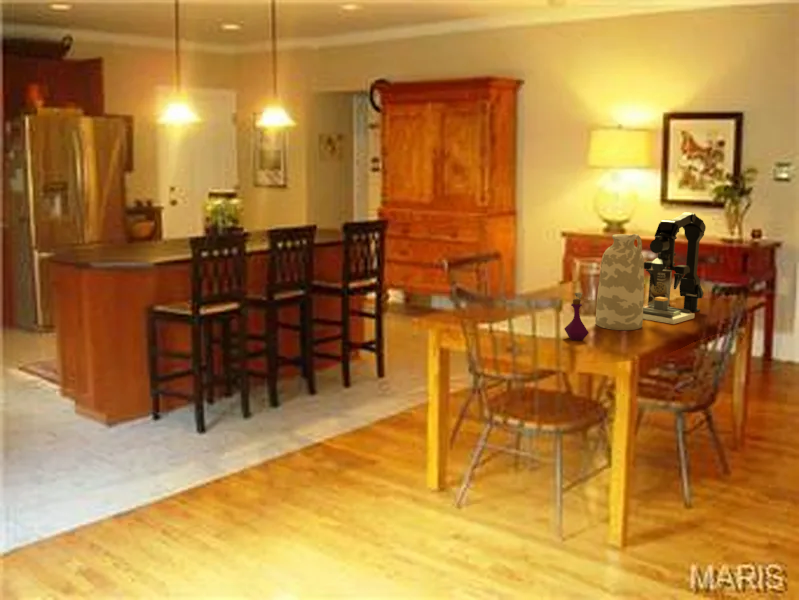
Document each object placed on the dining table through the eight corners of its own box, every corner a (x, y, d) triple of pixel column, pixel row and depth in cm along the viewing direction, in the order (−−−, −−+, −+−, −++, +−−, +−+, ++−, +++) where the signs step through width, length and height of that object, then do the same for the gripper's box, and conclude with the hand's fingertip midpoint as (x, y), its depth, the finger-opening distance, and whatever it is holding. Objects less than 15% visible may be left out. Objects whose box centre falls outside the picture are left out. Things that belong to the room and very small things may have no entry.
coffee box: (647, 304, 417) (649, 269, 414) (649, 302, 423) (651, 267, 420) (668, 306, 414) (670, 271, 411) (669, 303, 420) (672, 269, 417)
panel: (647, 310, 404) (648, 302, 403) (694, 318, 389) (694, 310, 388) (626, 315, 391) (626, 307, 391) (673, 324, 376) (674, 315, 375)
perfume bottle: (563, 336, 350) (566, 290, 347) (582, 336, 351) (585, 290, 348) (568, 341, 343) (571, 294, 340) (588, 341, 344) (591, 294, 340)
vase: (586, 322, 376) (591, 230, 369) (623, 319, 384) (629, 228, 377) (616, 333, 358) (622, 236, 351) (654, 329, 365) (661, 234, 358)
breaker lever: (658, 310, 392) (659, 296, 391) (667, 311, 390) (668, 297, 388) (653, 311, 390) (654, 297, 388) (662, 313, 387) (663, 299, 386)
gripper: (637, 250, 380) (634, 287, 384) (678, 255, 368) (675, 293, 371) (650, 247, 388) (648, 283, 391) (691, 252, 375) (689, 289, 378)
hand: (664, 287), depth 383 cm, fingers open, 9 cm apart
